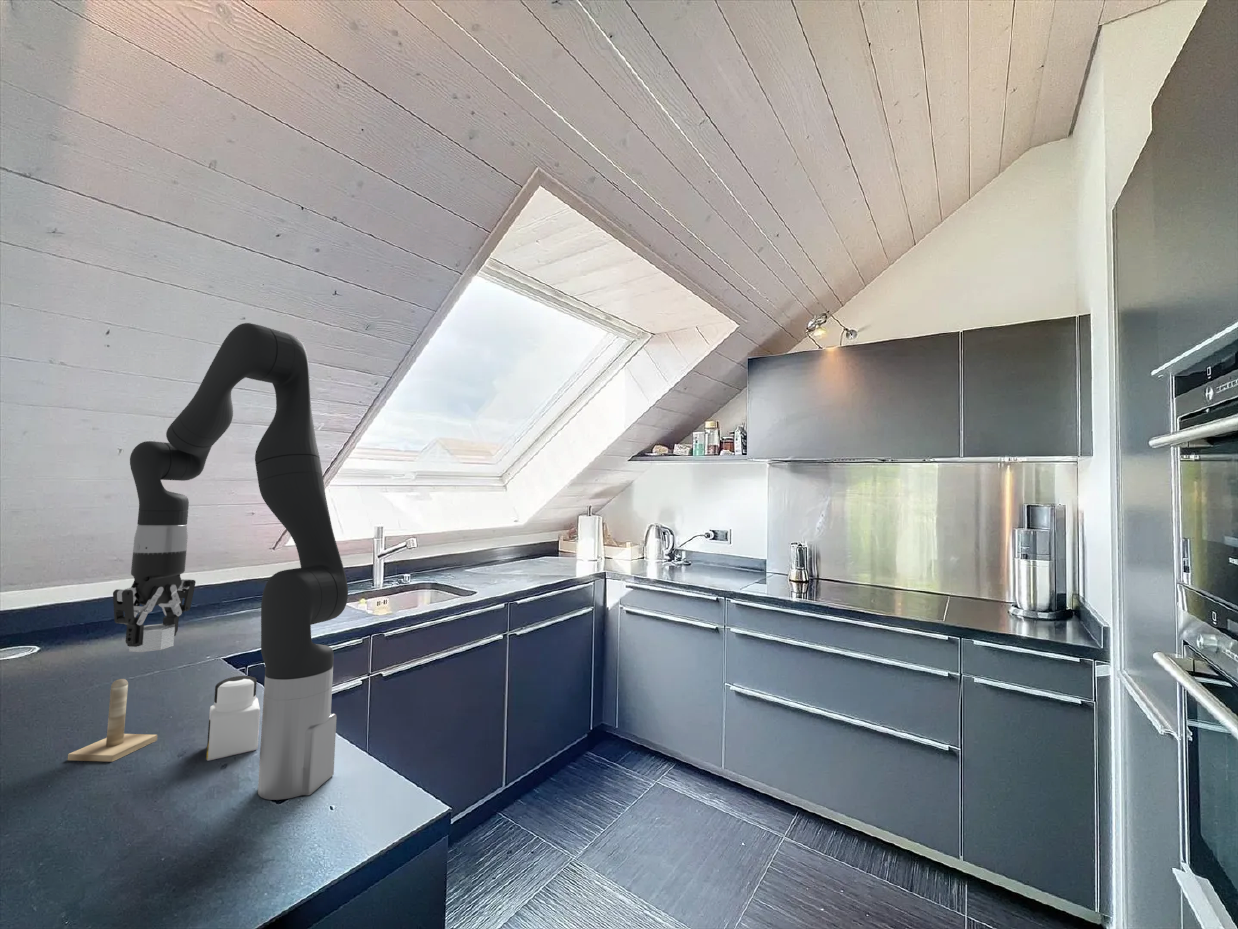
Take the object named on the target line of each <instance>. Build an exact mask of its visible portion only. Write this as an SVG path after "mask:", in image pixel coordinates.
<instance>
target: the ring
mask: <svg viewBox="0 0 1238 929" xmlns="http://www.w3.org/2000/svg"><path fill="white" fill-rule="evenodd" d="M174 633H175V624H163V623H158V624H147V625H144V631H143V639H142V645H141V646H137V647H129V646H128V652H129V653H130V652H133V653H145V652H153V651H160V650H164V649H168V648H171V647H174V645H175V644H174V641H175V636H174Z"/></svg>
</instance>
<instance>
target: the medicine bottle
mask: <svg viewBox="0 0 1238 929" xmlns="http://www.w3.org/2000/svg"><path fill="white" fill-rule="evenodd" d="M257 680H258V679H257V678H256V677H253V676H250V675H237V676H232V677H231V676H230V677H228V678H226V679H225V678H224V679H223V680H221V681H219V682H218V683H217V684H216V685H215V687H214V700H213V701H214V702H213V705H210V707H209V716H208V727H207V743H206V745H207V746H206V761H215V760H216V759H217V760H218V759H223V758H227V757H231V756H235V755H240V754H244V753H249V752H253V751H256V750H258V746H259V734H260V733H259V730H260V716H261V715H260V714H261V713H260V712H261V707H260V703H259V698H258V697H257V684H258V683H257V682H258V681H257Z"/></svg>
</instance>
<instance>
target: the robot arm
mask: <svg viewBox="0 0 1238 929" xmlns="http://www.w3.org/2000/svg"><path fill="white" fill-rule="evenodd" d="M309 366H310V364H309V357H308V353H307V350H306V347H305V345H304V343H303V342H302V340H301V339H299V338H298V337H297V336H295V335H293V334H290V333H287V332H284V331H280V330H276V329H275V328H269V327H267V326H263V325H261V324H260V325H259V324H255V323H250V322H245V323H240V324H238V325H237V326H236V327H234V328H233V329H232V330H231V331H230V332H229V333H228V335H226V337H225V338H224V340H223V342H222V344H221V345H220V347H219V349H218V351H217V353H216V354H215V356H214V358H213V360H212V361H211V364H210V365H209V367H208V369H207V370H206V373H205V375H204V377H203V379H202V381H201V383H200V385H199V387H198V388H197V390H196V393H195V394H194V396H193V397H192V399H191V400H190V401H189V402H188V403H187V405H186V406H185V407H184V408H183V410H181V411H180V413H179V415H178V416H177V417H176V418H175V419H174V420H173V421H172V422H171V423H170V424H169V426H168V428H167V430H166V433H165V434H166V435H165V436H166V439H167V442H164V441H155V440H153V441H152V440H148V441H146V440H145V441H142V442H139V443H138V444H137V445H136V446H134V448H133V449H132V452H131V454H130V456H129V465H130V470H131V473H132V474H131V475H132V477H133V481H134V485H135V488H136V493H137V499H138V514H137V526H136V530H135V534H134V538H133V547H132V558H131V568H130V569H131V571H130V575H131V576H132V577H133V582H132V584H131V586H130V587H127V588H124V589H120V588H119V589H114V591H113V592H112V599H113V602H112V603H113V617H114V618H113V619H114V623H115V624H122V625H125V626H126V632H125V644H126V645H127V647H128V648H129V647H137V646H141V645H142V639H143V631H144V626H145V624H144V622H145V620H146V618H147V616H148V614H150V613H151V612H152V611H153V609H154V608H155V606H159V607H160V608H161V609H162V612H163V614H164V617H163V618H162V624H175V633H174V637H176V635H177V632H178V630H179V621H180V620H179V619H180V618H179V617H180V616H182V614H183V613H185V612H189V611H190V610H191V606H192V602H193V597H194V591H195V587H196V580H195V579H182V578H181V575H182V574H184V573H185V572H186V560H187V549H188V539H189V538H188V536H189V535H188V534H189V533H188V517H189V505H190V504H189V501H190V500H189V497H188V496H186V495H185V494H182V493H177V492H172V491H168V490H167V489H166V488H165V487H164V485H163V483H162V480H163V481H181V482H182V481H184V482H185V481H190V480H193V479H195V478H197V477H198V476H200V475H201V474H202V472H203V471H204V468H205V466H206V462H207V459H208V456H209V453H210V451H211V449H212V447H213V445H215V443H216V442H217V441H218V440H220V439H221V437H223V435H224V434H225V433H226V432H227V430H228V429H229V427H230V426H231V424H232V421H233V417H234V406H233V400H232V391H233V389H234V388H235V386H236V385H237V384H238V383H240V382H241V381H243V380H244V379H245V378H247V379H249V380H255V381H260V382H265V383H271V384H272V386H273V388H274V392H275V402H276V403H275V404H276V405H275V407H276V408H275V413H274V416H273V418H272V420H271V422H270V424H269V425H268V427H267V429H265V432H264V433H263V435H262V437H261V438H260V441H259V443H258V445H257V447H256V450H255V453H254V463H255V469H256V471H255V472H256V476H257V482H258V488H259V489H258V490H259V493H260V495H261V497H262V500H263V501H264V503H265V505H266V506H267V507H268V509H269V510H270V511H271V512H272V514H273V515H274V516H275V518H276V519H277V520H278V521H279V522H280V523H281V525H282V526H283V527H284V528H285V529H286V531H287V532H288V533H289V536H290V537H291V538H292V541H293V542H294V544H295V547H296V550H297V555H298V559H299V564H300V565H299V566H300V567H298V568H296V567H295V568H291V569H290V568H289V569H284V570H280V571H277V572H276V573H275V574H273V575H271V576H270V577H269V579H268V580H267V582H266V584H265V586H264V589H263V590H262V591H263V592H262V597H261V607H260V652H261V656H262V660H263V662H264V669H265V670H264V686H263V698H262V699H263V700H262V702H263V703H262V717H261V734H260V746H259V747H260V748H259V762H258V763H259V764H258V766H259V768H258V781H257V782H258V783H257V795H258V796H259V797H260V798H262V799H265V800H270V801H271V800H273V801H275V800H276V801H279V800H287V799H292V798H297V797H299V796H310V795H312V794H313V793H314V792H316V790H318V789H319V788H320V787H321V786H322V785H323V784H325V783H326V782H327V781H328V780H329V779H331V777H332V776H334V774H335V772H334V771H335V758H336V757H335V756H336V754H335V752H336V734H337V714H336V713H332V698H333V697H332V694H333V679H334V673H333V672H334V655H335V654H334V650H333V648H332V647H331V646H329V645H325V644H319V643H314V642H313V641H312V629H311V628H312V627H311V626H312V625H316V624H320V623H324V622H327V621H332V620H334V619H336V618H337V617H338V616H340V615H341V614H342V613H343V611H345V608H346V606H347V603H348V597H349V587H348V579H347V575H346V571H345V568H344V565H343V561H342V557H341V554H340V551H339V548H338V545H337V541H336V537H335V534H334V533H335V532H334V529H333V526H332V521H331V516H330V511H329V506H328V501H327V496H326V489H325V483H324V475H323V474H324V473H323V469H322V463H321V458H320V453H319V449H318V444H317V439H316V432H315V424H314V418H313V412H312V411H313V410H312V401H311V400H312V399H311V382H310V381H311V380H310V367H309ZM183 600H184V601H183ZM140 605H141V606H140Z"/></svg>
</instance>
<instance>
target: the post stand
mask: <svg viewBox="0 0 1238 929" xmlns="http://www.w3.org/2000/svg"><path fill="white" fill-rule="evenodd" d="M128 689H129V682H128V680H126V679H125V678H120V679H115V680H114V681H113V682H112V683H111V686H110V691H109V692H110V694H109V705H108V706H109V707H108V715H107V716H108V720H107V729H106V737H105V738H103V739H100V740H98V741H95V742H93V743H91V744H88V745H86V746H84V747H82V748H79V749H76V750H73V751H72V752H70V753H68V754H67V761H78V762H79V761H81V762H83V761H84V762H114V761H117V760H119V759H121V758H123V757H126V756H127V755H129V754H131V753H135V752H136V751H139V750H140V749H142V748H144V747H146V746H148V745H151V744H152V743H155V742H157V741H158V734H146V733H144V734H143V733H136V734H135V733H125V725H126V714H127V713H126V712H127V701H128Z"/></svg>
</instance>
